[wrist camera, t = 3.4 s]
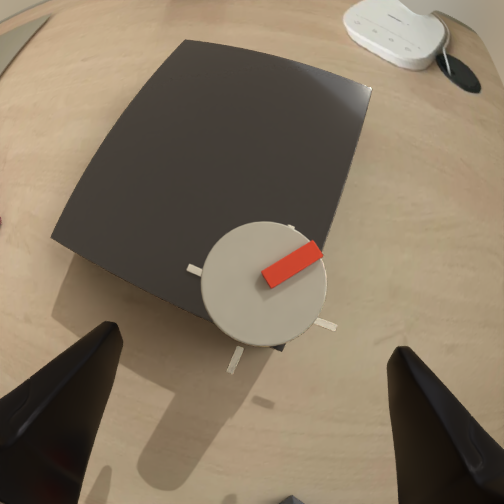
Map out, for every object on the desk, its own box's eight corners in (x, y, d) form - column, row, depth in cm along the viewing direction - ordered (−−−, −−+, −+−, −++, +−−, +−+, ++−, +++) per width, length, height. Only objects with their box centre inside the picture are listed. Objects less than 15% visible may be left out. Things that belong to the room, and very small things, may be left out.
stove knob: (248, 350, 14) (241, 372, 7) (210, 285, 14) (175, 258, 8) (313, 310, 14) (354, 301, 8) (273, 248, 15) (284, 195, 9)
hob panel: (294, 384, 17) (304, 401, 13) (71, 275, 19) (36, 264, 15) (380, 130, 21) (398, 98, 17) (192, 71, 23) (184, 37, 19)
